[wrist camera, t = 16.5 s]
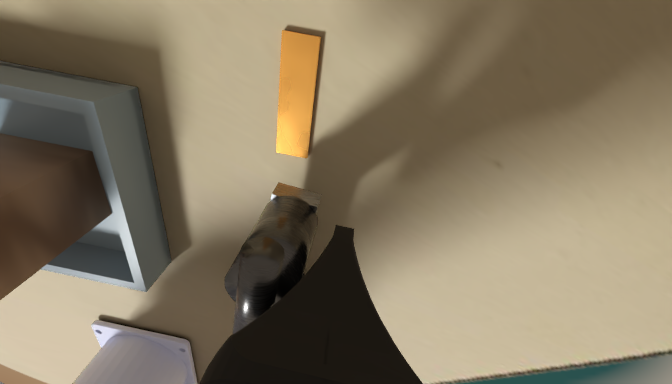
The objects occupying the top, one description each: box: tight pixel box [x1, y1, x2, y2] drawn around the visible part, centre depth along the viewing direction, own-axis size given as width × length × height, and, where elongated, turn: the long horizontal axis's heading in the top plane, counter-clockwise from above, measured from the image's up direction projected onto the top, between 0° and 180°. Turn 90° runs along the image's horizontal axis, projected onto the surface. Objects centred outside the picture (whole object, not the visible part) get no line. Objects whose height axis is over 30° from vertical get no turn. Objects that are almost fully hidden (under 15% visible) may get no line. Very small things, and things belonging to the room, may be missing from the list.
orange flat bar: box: [276, 30, 321, 278], centre depth 16 cm, size 17×4×1 cm, turn 171°
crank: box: [225, 183, 322, 334], centre depth 14 cm, size 12×3×6 cm, turn 166°
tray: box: [0, 61, 171, 292], centre depth 16 cm, size 11×11×2 cm
